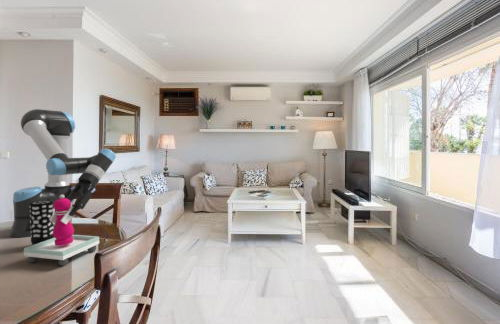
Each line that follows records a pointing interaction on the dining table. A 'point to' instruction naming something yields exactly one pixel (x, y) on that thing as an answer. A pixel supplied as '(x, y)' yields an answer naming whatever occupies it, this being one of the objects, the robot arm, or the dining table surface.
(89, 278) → the dining table surface
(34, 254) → the rolling base
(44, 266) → the dining table surface
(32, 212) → the white-spotted black cylinder
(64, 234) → the pepper mill
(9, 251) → the dining table surface
